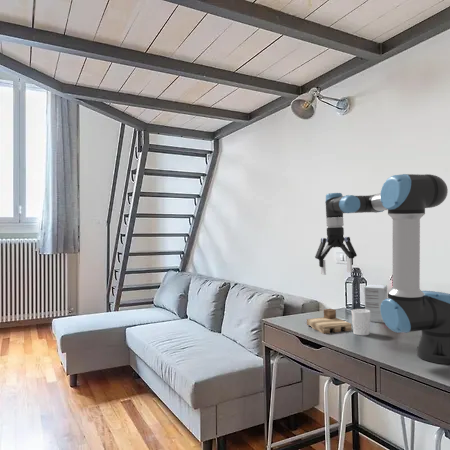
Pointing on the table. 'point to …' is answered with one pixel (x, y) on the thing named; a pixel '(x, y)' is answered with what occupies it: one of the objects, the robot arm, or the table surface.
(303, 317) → the table surface
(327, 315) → the cargo block
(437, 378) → the table surface
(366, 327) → the white cup
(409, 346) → the table surface
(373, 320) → the supplement box
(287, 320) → the table surface
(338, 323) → the pallet dock
